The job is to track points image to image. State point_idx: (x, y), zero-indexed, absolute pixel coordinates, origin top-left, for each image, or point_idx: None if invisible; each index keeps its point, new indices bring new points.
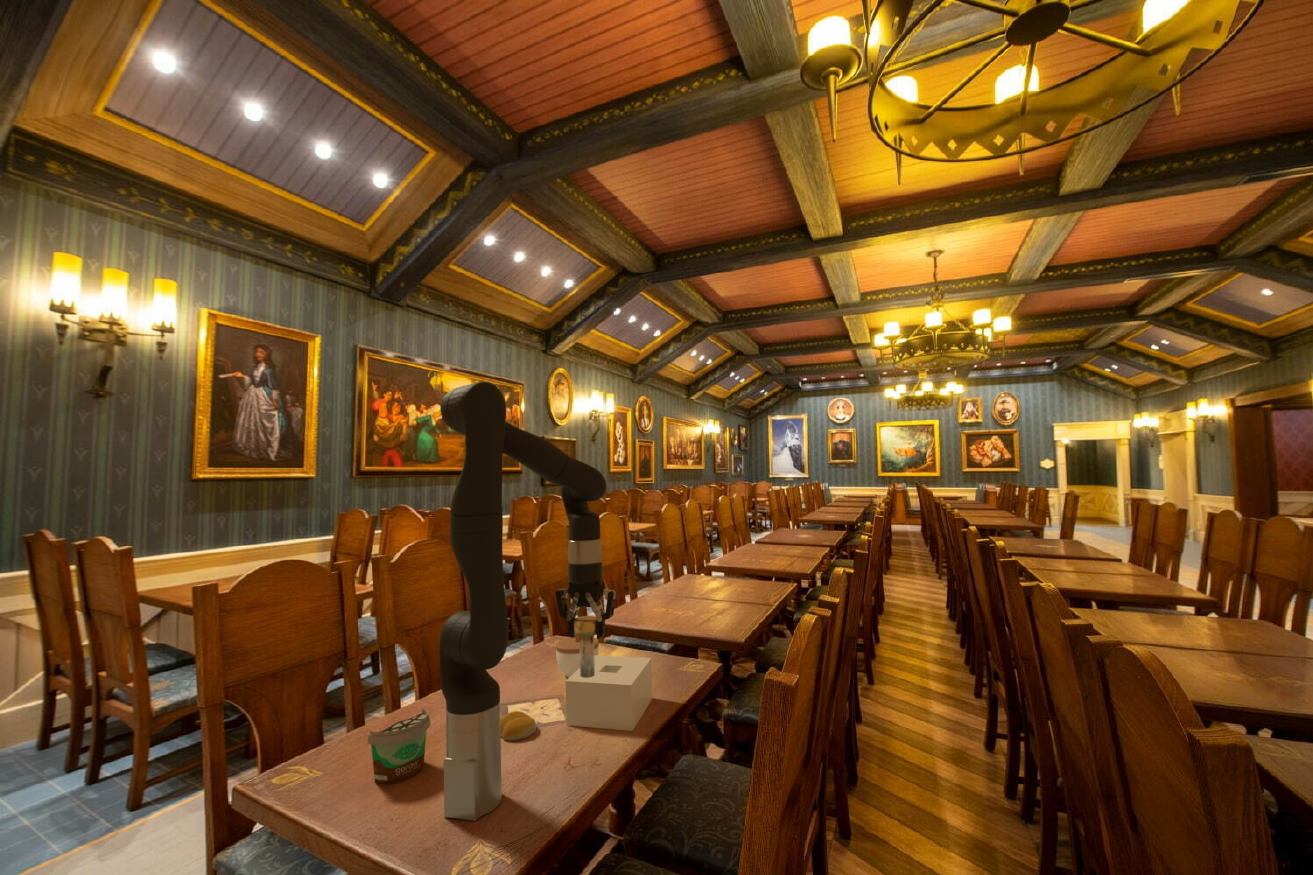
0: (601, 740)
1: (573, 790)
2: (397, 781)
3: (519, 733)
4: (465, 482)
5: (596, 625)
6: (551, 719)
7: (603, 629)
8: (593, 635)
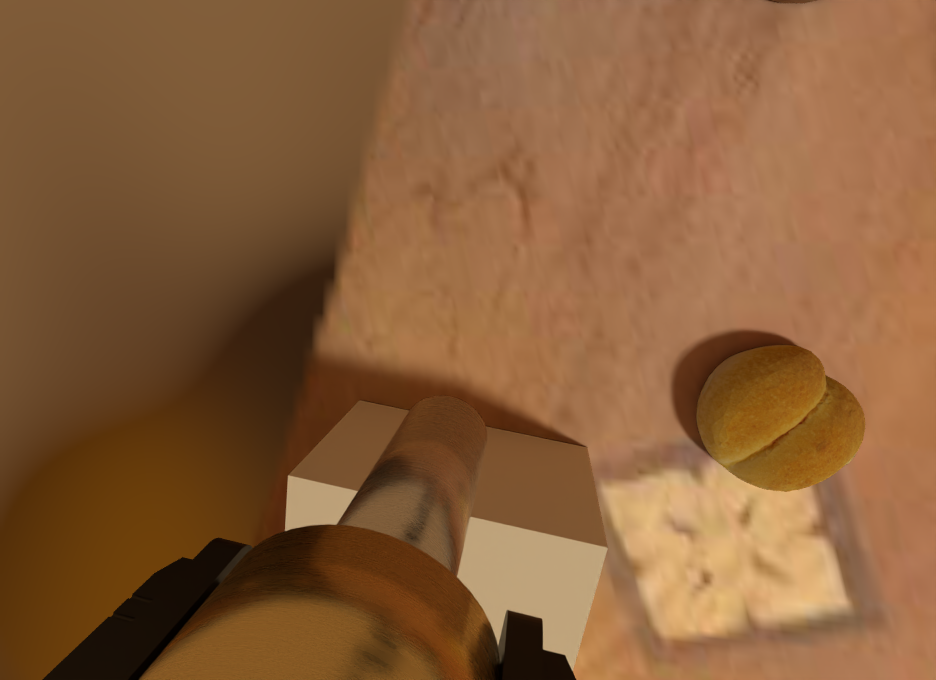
0: (446, 342)
1: (469, 21)
2: None
3: (750, 355)
4: None
5: (140, 665)
6: (651, 491)
7: (115, 622)
8: (248, 551)
